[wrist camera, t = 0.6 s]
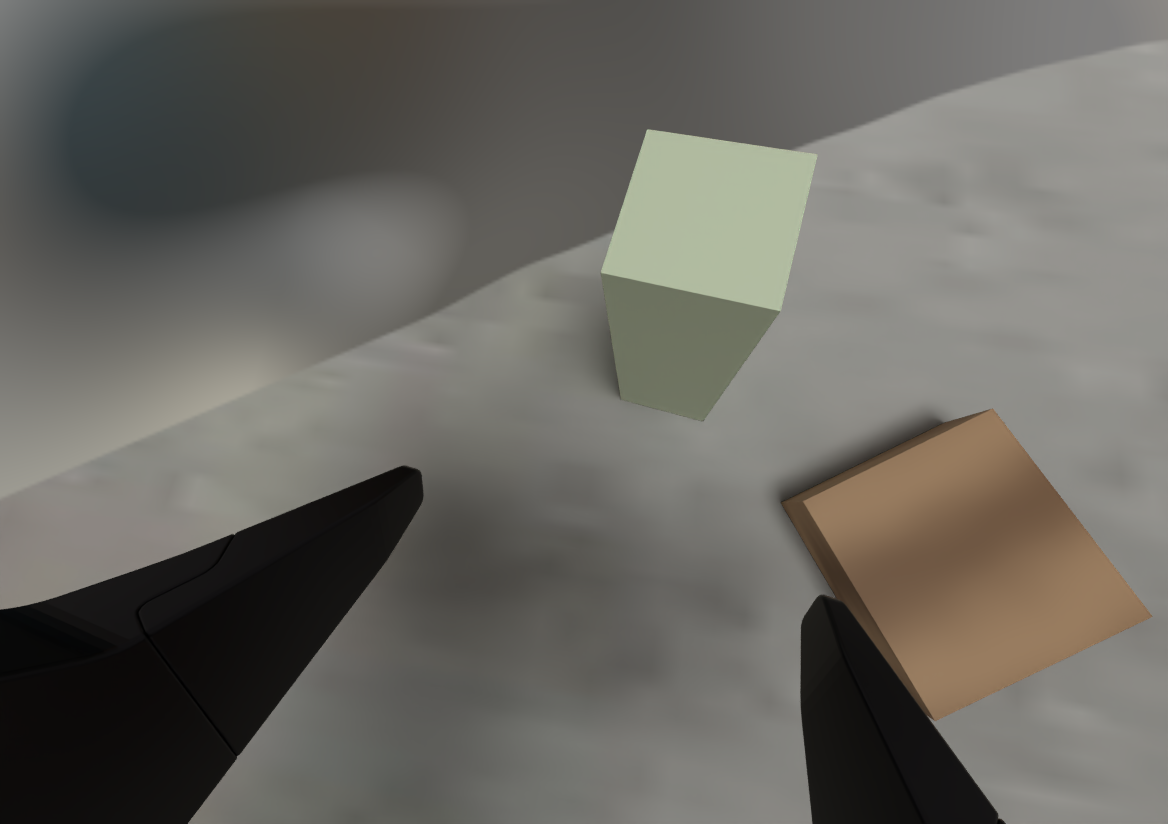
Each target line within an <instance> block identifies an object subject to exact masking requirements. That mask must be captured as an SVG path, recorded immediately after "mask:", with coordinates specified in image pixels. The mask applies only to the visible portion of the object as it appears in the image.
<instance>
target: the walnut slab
mask: <svg viewBox="0 0 1168 824" xmlns="http://www.w3.org/2000/svg"><path fill="white" fill-rule="evenodd" d="M781 504H782V506H783V507H784V509H785V511H786V512H787V514H788V516H789V518H790V519H791V521H792V523H793V524H794V526H795V528H796V529H797V531H798V533H799V535H800V536H801V538H802V540H803V541H804V543H805V545H806V546H807V548H808V550H809V552H810V553H811V555H812V557H813V558H814V560H815V562H816V564H817V565H818V567H819V569H820V570H821V572H822V574H823V575H824V577H825V579H826V581H827V582H828V584H829V586H830V587H831V589H832V591H833V592H834V594H835V596H836V598H837V599H839V600H841V601H843V602H844V603H845V604H846V605H847V607H848V608H849V610H850V611H851V612H852V614H853V615H854V616H855V618H856V619H857V620H858V622H859V623H860V625H861V626H862V627H863V629H864V630H865V631H866V633H867V634H868V636H869V637H870V638H871V640H872V641H873V642H874V644H875V645H876V647H877V648H878V649H879V651H880V652H881V653H882V655H883V656H884V658H885V659H886V660H887V662H888V663H889V664H890V666H891V667H892V669H893V670H894V671H895V673H896V674H897V675H898V677H899V678H900V680H901V681H902V682H903V684H904V685H905V686H906V688H907V689H908V691H909V692H910V693H911V695H912V696H913V697H914V699H915V700H916V702H917V703H918V704H919V706H920V707H921V708H922V710H923V711H924V712H925V714H926V715H927V716H929V717H930V718H932V719H933V720H934V721H936V720H938V719H940V718H943V717H945V716H947V715H949V714H951V713H953V712H955V711H957V710H959V709H961V708H963V707H965V706H968V705H970V704H972V703H974V702H976V701H978V700H980V699H982V698H984V697H986V696H988V695H990V694H992V693H995V692H997V691H999V690H1001V689H1003V688H1005V687H1007V686H1009V685H1011V684H1013V683H1015V682H1017V681H1020V680H1022V679H1024V678H1026V677H1028V676H1030V675H1032V674H1034V673H1036V672H1038V671H1040V670H1042V669H1045V668H1047V667H1049V666H1051V665H1053V664H1055V663H1057V662H1059V661H1061V660H1063V659H1065V658H1067V657H1070V656H1072V655H1074V654H1076V653H1078V652H1080V651H1082V650H1084V649H1086V648H1088V647H1090V646H1092V645H1094V644H1097V643H1099V642H1101V641H1103V640H1105V639H1107V638H1109V637H1111V636H1113V635H1115V634H1117V633H1119V632H1122V631H1124V630H1126V629H1128V628H1130V627H1132V626H1134V625H1136V624H1138V623H1140V622H1142V621H1144V620H1147V619H1149V618H1151V617H1153V616H1152V615H1151V614H1150V613H1149V611H1148V610H1147V609H1146V607H1145V606H1144V605H1143V603H1142V602H1141V601H1140V600H1139V598H1138V597H1137V596H1136V594H1135V593H1134V592H1133V590H1132V589H1131V588H1130V587H1129V585H1128V584H1127V583H1126V581H1125V580H1124V579H1123V577H1122V576H1121V575H1120V574H1119V572H1118V571H1117V570H1116V568H1115V567H1114V566H1113V564H1112V563H1111V562H1110V560H1109V559H1108V558H1107V557H1106V555H1105V554H1104V553H1103V551H1102V550H1101V549H1100V547H1099V546H1098V545H1097V544H1096V542H1095V541H1094V540H1093V538H1092V537H1091V536H1090V534H1089V533H1088V532H1087V531H1086V529H1085V528H1084V527H1083V525H1082V524H1081V523H1080V521H1079V520H1078V519H1077V518H1076V516H1075V515H1074V514H1073V512H1072V511H1071V510H1070V508H1069V507H1068V506H1067V504H1066V503H1065V502H1064V501H1063V499H1062V498H1061V497H1060V495H1059V494H1058V493H1057V491H1056V490H1055V489H1054V488H1053V486H1052V485H1051V484H1050V482H1049V481H1048V480H1047V478H1046V477H1045V476H1044V475H1043V473H1042V472H1041V471H1040V469H1039V468H1038V467H1037V465H1036V464H1035V463H1034V462H1033V460H1032V459H1031V458H1030V456H1029V455H1028V454H1027V452H1026V451H1025V450H1024V448H1023V447H1022V446H1021V445H1020V443H1019V442H1018V441H1017V439H1016V438H1015V437H1014V435H1013V434H1012V433H1011V432H1010V430H1009V429H1008V428H1007V426H1006V425H1005V424H1004V422H1003V421H1002V420H1001V419H1000V417H999V416H998V415H997V413H996V412H995V411H994V409H990V410H986V411H983V412H979V413H976V414H973V415H969V416H966V417H962V418H959V419H955V420H952V421H949V422H945V423H943V424H941V425H939V426H937V427H935V428H933V429H931V430H929V431H927V432H925V433H923V434H921V435H919V436H916V437H914V438H912V439H910V440H908V441H906V442H904V443H902V444H900V445H898V446H896V447H894V448H892V449H890V450H888V451H886V452H884V453H882V454H880V455H878V456H876V457H873V458H871V459H869V460H867V461H865V462H863V463H861V464H859V465H857V466H855V467H853V468H851V469H849V470H847V471H845V472H843V473H841V474H839V475H837V476H835V477H833V478H830V479H828V480H826V481H824V482H822V483H820V484H818V485H816V486H814V487H812V488H810V489H808V490H806V491H804V492H802V493H800V494H798V495H796V496H794V497H792V498H790V499H787V500H785V501H783V502H781Z"/></svg>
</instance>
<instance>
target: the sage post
mask: <svg viewBox="0 0 1168 824" xmlns="http://www.w3.org/2000/svg"><path fill="white" fill-rule="evenodd" d="M816 159H817V154H810V153H803V152H797V151H790V150H783V149H776V148H770V147H763V146H755V145H749V144H743V143H735V142H729V141H722V140H715V139H709V138H702V137H695V136H688V135H681V134H675V133H668V132H662V131H655V130H647V132H646V135H645V139H644V142H643V145H642V148H641V151H640V154H639V157H638V160H637V163H636V166H635V169H634V172H633V175H632V178H631V182H630V185H629V188H628V191H627V194H626V197H625V200H624V203H623V206H622V210H621V212H620V215H619V219H618V222H617V225H616V228H615V231H614V234H613V237H612V240H611V243H610V246H609V249H608V252H607V255H606V258H605V261H604V264H603V268H602V271H601V277H602V283H603V290H604V296H605V302H606V309H607V315H608V321H609V328H610V334H611V340H612V346H613V353H614V359H615V365H616V372H617V378H618V384H619V391H620V397H621V400H625V401H628V402H632V403H636V404H640V405H643V406H647V407H651V408H655V409H658V410H662V411H666V412H670V413H673V414H677V415H681V416H685V417H688V418H692V419H696V420H700V421H704V419H705V418H706V416H707V415H708V413H709V412H710V411H711V409H712V408H713V406H714V405H715V404H716V402H717V401H718V399H719V398H720V396H721V395H722V394H723V392H724V391H725V389H726V388H727V386H728V385H729V384H730V382H731V381H732V379H733V378H734V377H735V375H736V374H737V372H738V371H739V369H740V368H741V367H742V365H743V364H744V362H745V361H746V360H747V358H748V357H749V355H750V354H751V352H752V351H753V350H754V348H755V347H756V345H757V344H758V342H759V341H760V340H761V338H762V337H763V335H764V334H765V333H766V331H767V330H768V328H769V327H770V325H771V324H772V323H773V321H774V320H775V318H776V317H777V315H778V314H779V313H780V311H781V307H782V303H783V299H784V294H785V290H786V286H787V282H788V277H789V273H790V269H791V265H792V261H793V256H794V252H795V248H796V244H797V239H798V235H799V231H800V227H801V223H802V218H803V214H804V210H805V206H806V201H807V197H808V193H809V189H810V184H811V180H812V176H813V172H814V168H815V163H816Z"/></svg>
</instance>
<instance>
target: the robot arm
mask: <svg viewBox="0 0 1168 824" xmlns="http://www.w3.org/2000/svg"><path fill="white" fill-rule="evenodd" d="M422 501H423V484H422V475H421V472H420V471H419V470H418V469H415V468H412V467H409V466H400V467H397V468H395V469H393V470H390V471H388V472H385V473H383V474H380V475H378V476H375V477H373V478H370V479H368V480H365V481H363V482H360V483H358V484H355V485H353V486H350V487H348V488H345V489H343V490H341V491H338V492H336V493H333V494H331V495H328V496H326V497H323V498H321V499H318V500H316V501H313V502H311V503H308V504H306V505H303V506H301V507H298V508H296V509H293V510H291V511H289V512H286V513H284V514H281V515H279V516H276V517H274V518H271V519H269V520H266V521H264V522H261V523H259V524H256V525H254V526H251V527H249V528H246V529H244V530H241V531H239V532H237V533H236V534H235V535H234V534H231V535H229V536H226V537H224V538H221V539H219V540H216V541H214V542H211V543H209V544H206V545H204V546H201V547H199V548H196V549H193V550H191V551H188V552H186V553H183V554H180V555H178V556H175V557H172V558H169V559H166V560H164V561H161V562H158V563H155V564H152V565H150V566H147V567H144V568H141V569H138V570H135V571H132V572H129V573H126V574H123V575H120V576H117V577H115V578H112V579H109V580H106V581H103V582H100V583H97V584H94V585H91V586H88V587H85V588H82V589H79V590H76V591H73V592H70V593H68V594H65V595H62V596H59V597H55V598H52V599H49V600H46V601H42V602H38V603H34V604H30V605H26V606H21V607H15V608H9V609H1V610H0V824H188V822H189V821H190V820H191V818H192V817H193V816H194V815H195V813H196V812H197V811H198V809H199V808H200V807H201V805H202V804H203V803H204V801H205V800H206V799H207V797H208V796H209V795H210V793H211V792H212V791H213V789H214V788H215V787H216V786H217V784H218V783H219V782H220V780H221V779H222V778H223V776H224V775H225V774H226V772H227V771H228V770H229V768H230V767H231V766H232V764H233V763H234V762H235V760H236V759H237V756H238V755H240V753H241V752H242V751H243V749H244V748H245V747H246V745H247V744H248V743H249V742H250V740H251V739H252V738H253V736H254V735H255V734H256V732H257V731H258V730H259V728H260V727H261V726H262V724H263V723H264V722H265V720H266V719H267V718H268V716H269V715H270V714H271V713H272V711H273V710H274V709H275V707H276V706H277V705H278V703H279V702H280V701H281V699H282V698H283V697H284V695H285V694H286V693H287V691H288V690H289V689H290V687H291V686H292V685H293V684H294V682H295V681H296V680H297V678H298V677H299V676H300V674H301V673H302V672H303V670H304V669H305V668H306V666H307V665H308V664H309V662H310V661H311V660H312V658H313V657H314V656H315V654H316V653H317V652H318V651H319V649H320V648H321V647H322V645H323V644H324V643H325V641H326V640H327V639H328V637H329V636H330V635H331V633H332V632H333V631H334V629H335V628H336V627H337V625H338V624H339V623H340V622H341V620H342V619H343V618H344V616H345V615H346V614H347V612H348V611H349V610H350V608H351V607H352V606H353V604H354V603H355V602H356V600H357V599H358V598H359V596H360V595H361V594H362V593H363V591H364V590H365V589H366V587H367V586H368V585H369V583H370V582H371V581H372V579H373V578H374V577H375V575H376V574H377V573H378V571H379V570H380V569H381V567H382V566H383V565H384V563H385V562H386V561H387V559H388V558H389V556H390V555H391V553H392V551H393V550H394V548H395V547H396V545H397V543H398V542H399V540H400V538H401V537H402V535H403V533H404V532H405V530H406V528H407V527H408V525H409V524H410V522H411V520H412V519H413V517H414V515H415V514H416V512H417V510H418V509H419V507H420V505H421V503H422ZM800 694H801V716H802V727H803V736H804V746H805V756H806V765H807V775H808V784H809V794H810V804H811V813H812V823H813V824H1006V823H1005V822H1004V821H1003V820H1002V819H998V813H997V811H996V810H995V809H994V807H993V806H992V804H991V803H990V802H989V800H988V799H987V798H986V796H985V795H984V794H983V792H982V791H981V789H980V788H979V787H978V785H977V784H976V783H975V781H974V780H973V778H972V777H971V776H970V774H969V773H968V772H967V770H966V769H965V767H964V766H963V765H962V763H961V762H960V761H959V759H958V758H957V756H956V755H955V754H954V752H953V751H952V750H951V748H950V747H949V745H948V744H947V743H946V741H945V740H944V739H943V737H942V736H941V734H940V733H939V732H938V730H937V729H936V728H935V726H934V725H933V723H932V722H931V721H930V719H929V718H928V717H927V715H926V714H925V712H924V711H923V710H922V708H921V707H920V706H919V704H918V703H917V702H916V700H915V699H914V697H913V696H912V695H911V693H910V692H909V691H908V689H907V688H906V686H905V685H904V684H903V682H902V681H901V680H900V678H899V677H898V675H897V674H896V673H895V671H894V670H893V669H892V667H891V666H890V664H889V663H888V662H887V660H886V659H885V658H884V656H883V655H882V653H881V652H880V651H879V649H878V648H877V647H876V645H875V644H874V642H873V641H872V640H871V638H870V637H869V636H868V634H867V633H866V631H865V630H864V629H863V627H862V626H861V625H860V623H859V622H858V620H857V619H856V618H855V616H854V615H853V614H852V612H851V611H850V610H849V608H848V607H847V605H846V604H845V603H844V602H843V601H841V600H839V599H836V598H833V597H829V596H826V595H819V596H818V597H817V598H816V599H815V601H814V602H813V604H812V605H811V607H810V608H809V610H808V611H807V613H806V614H805V616H804V618H803V620H802V624H801V691H800Z"/></svg>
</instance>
